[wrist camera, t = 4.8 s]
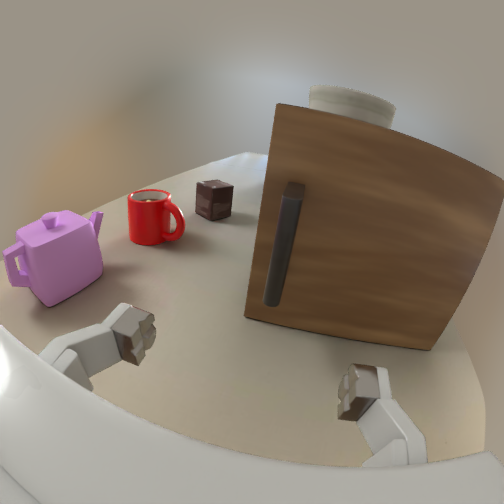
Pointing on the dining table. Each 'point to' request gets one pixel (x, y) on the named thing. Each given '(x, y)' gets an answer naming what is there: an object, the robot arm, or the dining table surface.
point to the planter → (352, 104)
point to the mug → (153, 217)
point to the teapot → (56, 255)
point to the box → (214, 199)
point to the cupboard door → (366, 231)
